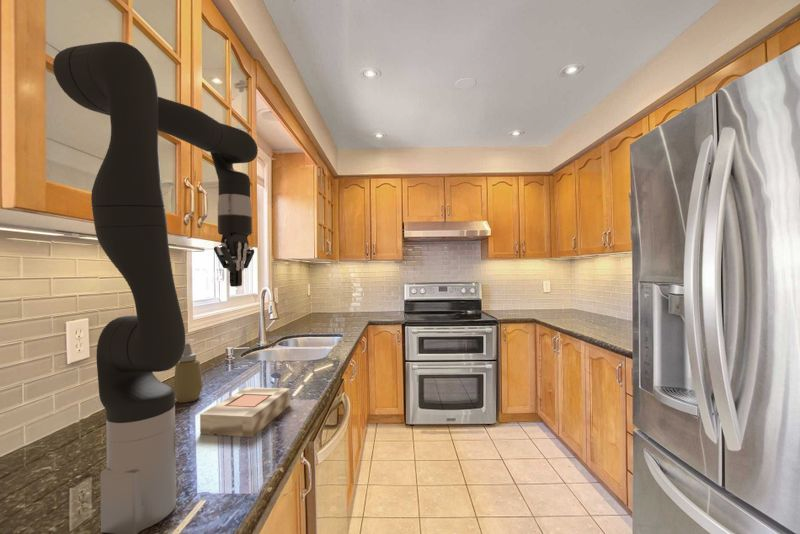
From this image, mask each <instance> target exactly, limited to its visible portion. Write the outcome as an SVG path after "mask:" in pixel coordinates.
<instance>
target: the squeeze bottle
mask: <svg viewBox="0 0 800 534" xmlns="http://www.w3.org/2000/svg"><path fill="white" fill-rule="evenodd" d="M173 378H174V379H173V380H174V381H173V386H172V389H173V390H174V393H175V400H176V401H177V402H178V403H181V404H184V403H190V402H193V401H196V400H198V399H199V398H200V395H201V393H202V389H203V385H204V384H203V378H202V369H201V362H200V360H198V359H197V353H195V352H193V350H192V347H191V343H190V342H187V343H186V342H185V348H184V352H183V355H182V357H181V359H180V361H179V362H178V363H177V364H176V366H175V370H174V377H173Z"/></svg>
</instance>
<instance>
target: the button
mask: <svg viewBox="0 0 800 534" xmlns="http://www.w3.org/2000/svg"><path fill="white" fill-rule="evenodd" d="M268 398H269V396H260V395H244V396H242V397H240V398H239V399H237V400H235V401H234V402H232V403H231V404H229V405H228V406H235V407H256V406H258V405H259V404H260V403H262V402H263V401H265V400H266V399H268Z"/></svg>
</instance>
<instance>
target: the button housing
mask: <svg viewBox="0 0 800 534" xmlns="http://www.w3.org/2000/svg"><path fill="white" fill-rule="evenodd" d="M290 391H291V388H289V387H288V388H285V387H283V388H281V387H258V386H257V387H256V386H255V387H254V386H247V387H245V388H243V389H242V390H239V391H237V392H235V393H234V394H232V395H231V396H229V397H227V398H226V399H224V400H223V401H220V402H219V403H217V404H215V405H214V406H211V407H210V408H208V409H207V410H204V411H202V412H201V413H200V414H199V423H200V424H199V428H200V429H199V430H200V432H199V434H200V435H204V434H205V435H206V434H217V435H216V436H222V435H228V436H227V437H239V438H240V437H243V438H253V437H254V436H255V435H257V434H258V433H259V432H260V431H261V430H262V429H264V428H265V427H266V426H267V425H268V424H270V423H271V422H272V421H273V420H274V419H275V418H277V417H278V416H280V414H281V413H283V412H284V411H285V410H286V409H288V408H289V407H290V405H291V392H290ZM244 395H260V396H269V398H268V399H266V400H265V401H263V402H262V403H260V404H259V405H258V406H256V407H235V406H228V405H229V404H231V403H232V402H234V401H235V400H237V399H239V398H240V397H242V396H244Z"/></svg>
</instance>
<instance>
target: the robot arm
mask: <svg viewBox="0 0 800 534" xmlns="http://www.w3.org/2000/svg"><path fill="white" fill-rule="evenodd" d="M52 70H53V74H54V76H55V80H56V82H57V83H58V85H59V87H60V88H61V90H62V91H63V92H64V94H66V95H67V96H68V97H69V98H70V99H71V100H72V101H74V102H75V103H76V104H77V105H79V106H81V107H83V108H85V109H87V110H89V111H93V112H96V113H100V114H103V115H107V116H109V117H110V118H109V119H110V138H109V139H110V140H109V144H108V148H107V151H106V154H105V156H104V157H103V158H104V159H103V161H102V162H101V164H100V168H99V169H98V172H97V174H96V177H95V179H94V182H93V185H92V189H91V195H90V196H91V197H90V198H91V199H90V200H91V210H92V211H91V212H92V216H93V218H92V219H93V224H94V230H95V234H96V238H97V241H98V243H99V245H100V247H101V249H102V250H103V252H104V253H105V254H106V256H107V257H108V259H109V260H110V261H111V263H112V265H114V267H115V268H116V269H117V270H118V272H119V274H121V276H122V277H123V279H124V280H125V282H126V283H127V285H128V286H129V289H130V291H131V294H132V297H133V301H134V305H135V311H136V312H135V313H136V315H123V316H120V317H116V318H114V319H112V320H111V321H109V322H108V323H107V324H106V325H105V326H104V328H103V329H102V330H101V332H100V335H99V337H98V340H97V345H96V369H97V370H96V371H97V382H98V396H99V400H100V403H101V405H102V406H103V408H104V410H105V415H106V417H105V418H106V422H105V423H106V426H105V427H106V468H104V469H103V470H102V471H100V474H99V476H100V477H99V479H100V483H99V484H100V485H99V486H100V533H103V534H104V533H105V534H139V533H141V532H142V531H143V530H146V529H148V528H150V527H152V526H154V525H156V524H158V523H159V522H161V521H162V520H164V519H165V518H166V517H168V516H169V515H170V514H171V513H172V512H173V511H174V510H175V507H176V505H177V471H176V470H177V468H176V465H177V463H176V458H177V457H176V397H175V393H174V390H173V387H172V386H169V385H168V384H166V383H165V382H163V381H161V380H159V379H158V378H157V377H156V376H155V374H154V373H158V372H166V371H169V370H171V369H173V368H174V367H176V364H177V363H178V362H180V359H181V357H182V355H183V352H184V348H185V344H186V330H185V324H184V319H183V315H182V310H181V306H180V302H179V299H178V298H179V297H178V294H177V290H176V285H175V281H174V274H173V267H172V261H171V253H170V247H169V246H170V245H169V236H168V235H169V234H168V224H167V223H168V222H167V214H166V208H165V207H166V206H165V201H164V195H163V186H162V177H161V175H162V174H161V164H160V153H159V151H160V150H159V149H160V148H159V132H161V133H165V134H166V135H168V136H172V137H174V138H176V139H179V140H181V141H184V142H185V143H188V144H190V145H192V146H193V147H196V148H199V149H200V150H202V151H205V152H208V153H210V155H211V160H212V163H213V165H214V169H215V172H216V176H217V180H218V184H217V185H218V200H217V233H218V234H219V235H221V238H220V239H221V240H220V243H221V244H219V246H214V248H213V251H214V253H215V254H216V257H217V259H218V260H219V262H220V264H221V266H222V268H223V269H227V271H228V272H229V285H230V286H229V287H236V288H237V287H241V286H243V271H244V270H245V269H248V268H249V265H250V264H251V261H252V259H253V257H254V254H255V250H254V249H253V248H250V247H249V245H250V244H249V243H250V242H249V239H248V237H249V236H251V235H252V234H253V219H252V218H253V217H252V216H253V215H252V214H253V213H252V211H253V209H252V202H251V201H252V200H251V179H250V176H249V175H248V174H247V173H245V172H242V171H238V170H237V171H236V170H235V169H234V166H233V165H235V164H245V163H247V164H249V163H250V162H253V161H254V160H255V159H256V158H257V156H258V151H259V149H258V145H257V142H256V140H255V139H254V138H253V137H252V135H250V134H249V132H246V131H244V130H242V129H240V128H237V127H233V126H231V125H228V124H225V123H221V122H219V121H218V120H215V118H212V117H211V116H209V115H208V114H206V113H205V112H203V111H201V110H199V109H197V108H195V107H193V106H189V105H188V104H187V105H186V104H184V103H181V102H178V101H174V100H170V99H167V98H164V97H160V96H159V94H158V86H157V82H156V81H157V80H156V78H155V75H154V71H153V69H152V67H151V65H150V63H149V62H148V60H147V58H146V57H145V56H144V55H143V53H142V52H141V51H139V49H138V48H136V47H135V46H134V45H132V44H129V43H127V42H124V41H105V42H103V41H102V42H97V43H89V44H88V43H87V44H80V45H76V46H75V45H74V46H70V47H66V48H64V49H62V50H61V51H59V52H58V53H57V54H56V55H55V57H54V58H53V63H52Z"/></svg>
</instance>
